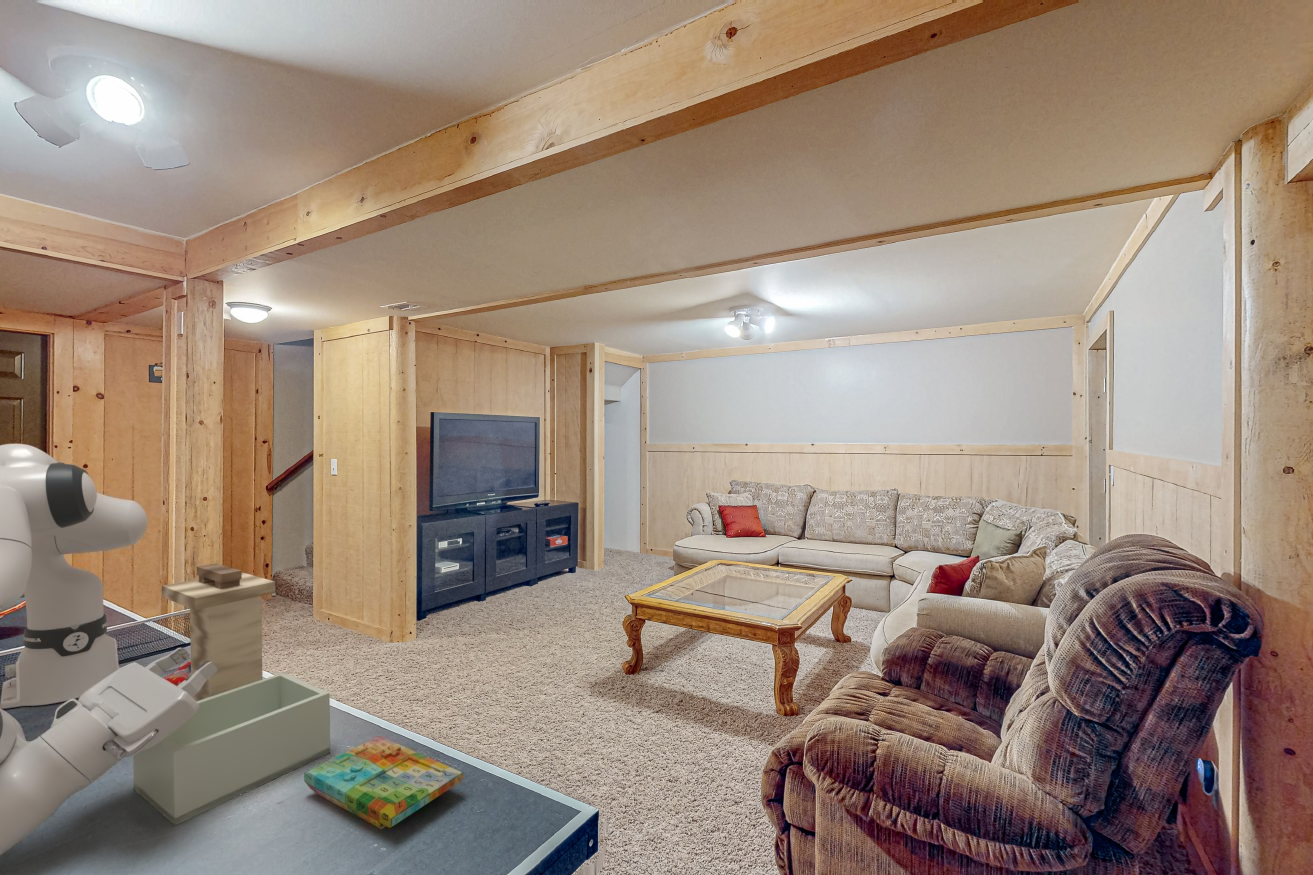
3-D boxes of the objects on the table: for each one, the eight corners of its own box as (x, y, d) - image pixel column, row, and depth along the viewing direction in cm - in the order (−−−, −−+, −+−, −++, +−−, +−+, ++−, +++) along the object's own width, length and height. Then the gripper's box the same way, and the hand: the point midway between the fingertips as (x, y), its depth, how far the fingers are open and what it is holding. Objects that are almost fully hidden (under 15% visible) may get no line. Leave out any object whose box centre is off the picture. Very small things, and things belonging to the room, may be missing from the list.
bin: (133, 788, 88) (132, 722, 88) (284, 727, 106) (283, 672, 105) (175, 825, 80) (173, 752, 80) (330, 752, 98) (329, 692, 97)
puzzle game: (377, 730, 96) (462, 766, 86) (377, 759, 96) (463, 797, 86) (304, 766, 86) (391, 811, 76) (304, 798, 86) (391, 847, 76)
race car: (173, 695, 119) (173, 675, 119) (153, 692, 120) (152, 672, 120) (235, 668, 132) (234, 650, 132) (216, 666, 133) (216, 648, 133)
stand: (164, 731, 104) (161, 570, 104) (241, 704, 114) (238, 557, 114) (198, 755, 97) (195, 581, 96) (277, 723, 107) (274, 566, 106)
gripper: (103, 747, 71) (217, 657, 81) (53, 704, 82) (159, 629, 92) (137, 778, 74) (244, 688, 84) (84, 732, 85) (184, 657, 95)
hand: (199, 657), depth 88 cm, fingers open, 8 cm apart
